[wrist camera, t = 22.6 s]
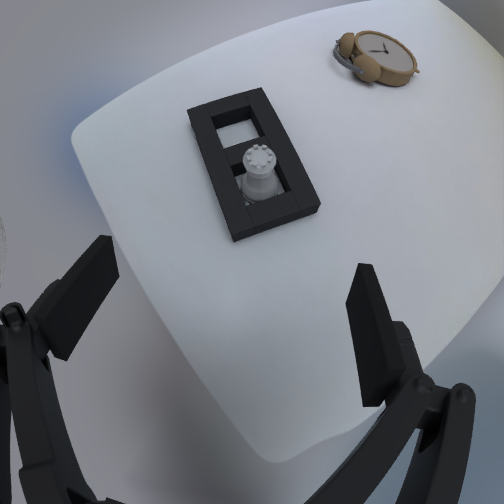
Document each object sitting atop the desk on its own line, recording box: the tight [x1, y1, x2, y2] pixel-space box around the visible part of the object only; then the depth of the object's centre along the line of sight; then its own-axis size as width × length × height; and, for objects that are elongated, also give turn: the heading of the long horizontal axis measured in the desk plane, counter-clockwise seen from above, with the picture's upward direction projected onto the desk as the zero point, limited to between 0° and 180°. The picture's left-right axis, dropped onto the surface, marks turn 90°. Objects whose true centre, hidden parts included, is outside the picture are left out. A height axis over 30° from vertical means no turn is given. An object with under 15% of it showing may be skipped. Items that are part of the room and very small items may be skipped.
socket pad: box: [187, 87, 321, 242], centre depth 36 cm, size 10×18×3 cm, turn 20°
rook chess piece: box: [241, 144, 278, 203], centre depth 33 cm, size 4×4×8 cm
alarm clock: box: [333, 31, 420, 86], centre depth 40 cm, size 11×5×15 cm
